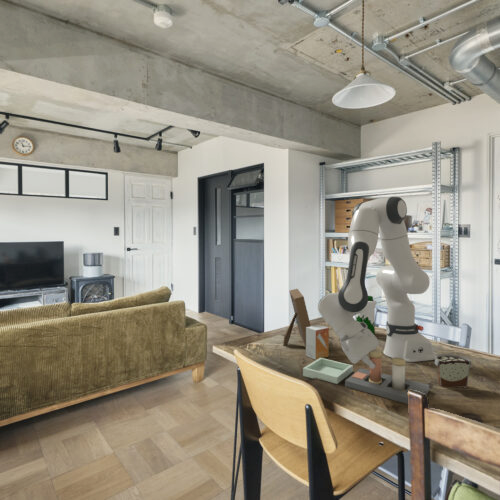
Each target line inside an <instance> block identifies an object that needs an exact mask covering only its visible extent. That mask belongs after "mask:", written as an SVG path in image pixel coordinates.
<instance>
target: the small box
mask: <svg viewBox="0 0 500 500" xmlns="http://www.w3.org/2000/svg"><path fill="white" fill-rule="evenodd" d="M329 331H330V326H329V327H328V326H326V325H325V326H324V325H322V324H316V325H311V326H310V327H306V347H305V356H306V357H308V358H310V359H312V360H314V361H316V360H317V359H319V358H324V359H325V358H326V357H327V358H328V357H329V354H330V352H329V349H330V348H329V347H330V346H329V344H330V341H329V339H330V332H329Z"/></svg>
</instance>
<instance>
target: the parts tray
mask: <svg viewBox="0 0 500 500" xmlns="http://www.w3.org/2000/svg"><path fill="white" fill-rule="evenodd" d="M353 372H354V364H348V363H345V362H339V361H336V360H333V359H327V358H325V357H324V358H319V359H317V360H314V361H312V362H311V363H309V364H307V365H306V366H304V367H303V368H302V376H303V377H306V378H309V379H312V380H315V379H317V380H321V381H325V382H329V383H332V384H335V385H339V383H341V382H342V381H344V380H345V379H346V378H347V377H348V376H350V375H351V374H353Z"/></svg>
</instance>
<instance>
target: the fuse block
mask: <svg viewBox="0 0 500 500" xmlns="http://www.w3.org/2000/svg"><path fill="white" fill-rule="evenodd" d="M381 379H382V384H381V385H379V384H375V383H371V382H369V369H366V368H359V369H357V370H356V371H355V372H354V373H352V374H350V375H349V377H348V378H346V379H344V387H346V388H350V389H354V390H357V391H360V392H364V393H367V394H370V395H373V396H379V397H381V398H385V399H388V400H392V401H396V402H399V403H403V404H405V405H409V404H408V395H407V392H408V390H409V389H412V390H417V391H420V392H422V393H425V394H426V396H427V395H428V393H429V391H430V384H427V383H424V382H419V381H414V380H410V379H406V378H405V391H401V390H398V389H394V388H391V387H392V375H390V374H386V373H382V372H381Z"/></svg>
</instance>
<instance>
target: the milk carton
mask: <svg viewBox="0 0 500 500" xmlns="http://www.w3.org/2000/svg"><path fill="white" fill-rule="evenodd" d="M376 305H377V301H376V300H374V296H372V295H368V304H367V307H366V309H365V310H364V311H363V312H361V313H359V314H356V315H355V320H356V321H358V322H364V323H365V324H366V325H367V326H368V327H367V329H369V330H370V331H371V332H372V333H373V334H374V335H375V336H376V328H375V327H376V326H375V324H376V323H375V320H376V319H375V317H376V315H375V310H376V309H375V308H376Z"/></svg>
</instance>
